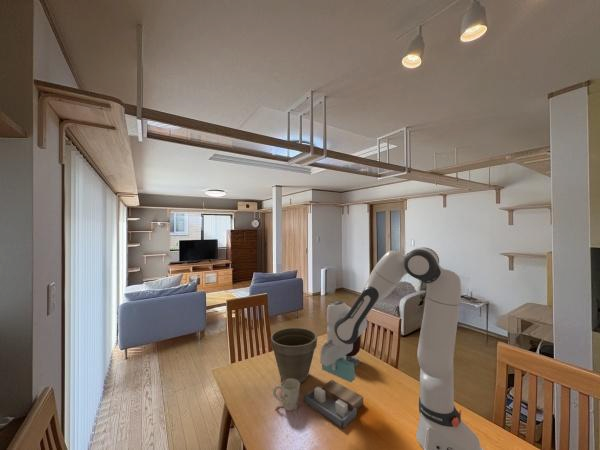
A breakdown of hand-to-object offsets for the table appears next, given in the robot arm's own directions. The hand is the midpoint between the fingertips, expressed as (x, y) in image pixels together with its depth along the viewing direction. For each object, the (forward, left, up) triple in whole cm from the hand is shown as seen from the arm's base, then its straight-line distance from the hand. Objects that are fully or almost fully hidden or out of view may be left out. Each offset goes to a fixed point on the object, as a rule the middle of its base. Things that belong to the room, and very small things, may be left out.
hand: (337, 367), depth 114 cm
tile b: (+6, +4, -13) cm, 15 cm away
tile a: (-6, +4, -13) cm, 15 cm away
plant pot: (+29, 0, -16) cm, 33 cm away
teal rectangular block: (0, 0, -3) cm, 3 cm away
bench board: (0, -3, -16) cm, 16 cm away
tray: (0, +6, -16) cm, 17 cm away
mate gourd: (+16, -33, -16) cm, 40 cm away
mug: (+15, +18, -16) cm, 28 cm away
